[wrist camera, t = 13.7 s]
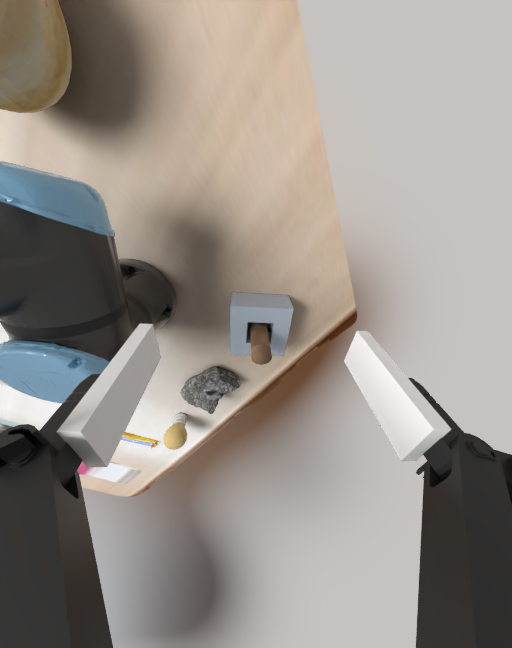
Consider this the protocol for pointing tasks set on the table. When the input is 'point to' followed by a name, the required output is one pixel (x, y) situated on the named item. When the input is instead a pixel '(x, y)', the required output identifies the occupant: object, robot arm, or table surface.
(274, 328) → the socket
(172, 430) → the light bulb
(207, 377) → the rock
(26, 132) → the table surface
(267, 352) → the peg
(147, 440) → the candy bar
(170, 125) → the table surface
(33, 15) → the decorative ball
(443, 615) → the robot arm
